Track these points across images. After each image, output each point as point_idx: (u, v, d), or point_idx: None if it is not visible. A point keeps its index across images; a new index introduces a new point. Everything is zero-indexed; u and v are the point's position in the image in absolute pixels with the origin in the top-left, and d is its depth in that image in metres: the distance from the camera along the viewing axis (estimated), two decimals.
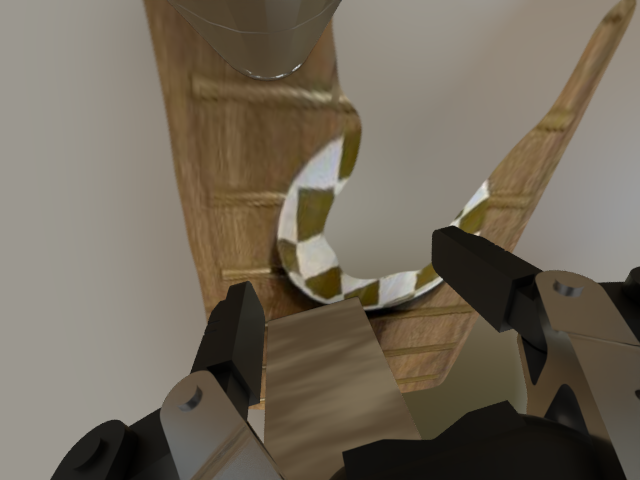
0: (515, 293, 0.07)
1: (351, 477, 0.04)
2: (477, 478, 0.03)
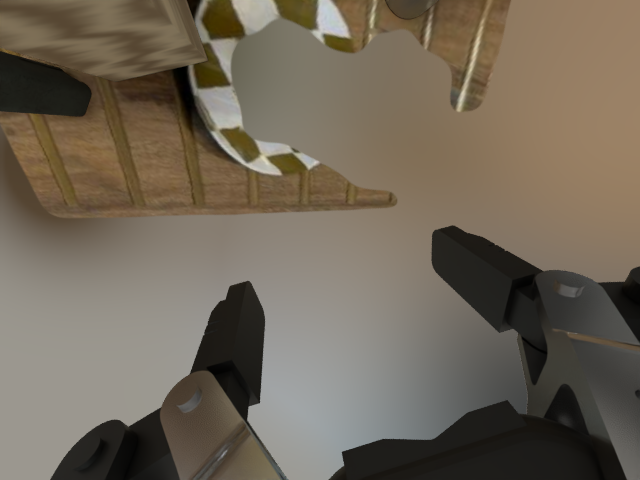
0: (515, 293, 0.07)
1: (351, 477, 0.04)
2: (477, 478, 0.03)
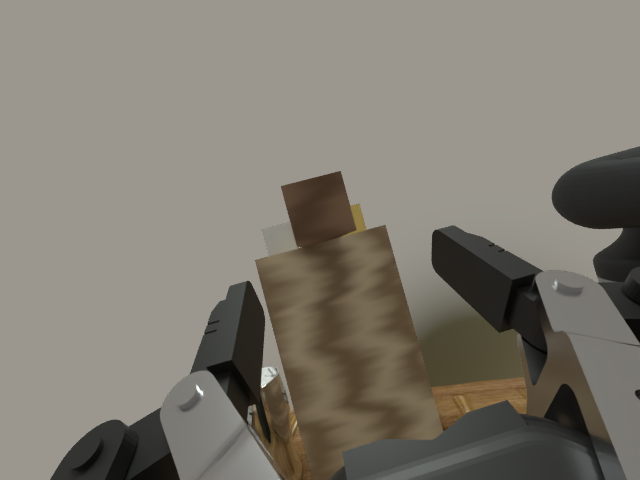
0: (515, 293, 0.07)
1: (351, 477, 0.04)
2: (477, 478, 0.03)
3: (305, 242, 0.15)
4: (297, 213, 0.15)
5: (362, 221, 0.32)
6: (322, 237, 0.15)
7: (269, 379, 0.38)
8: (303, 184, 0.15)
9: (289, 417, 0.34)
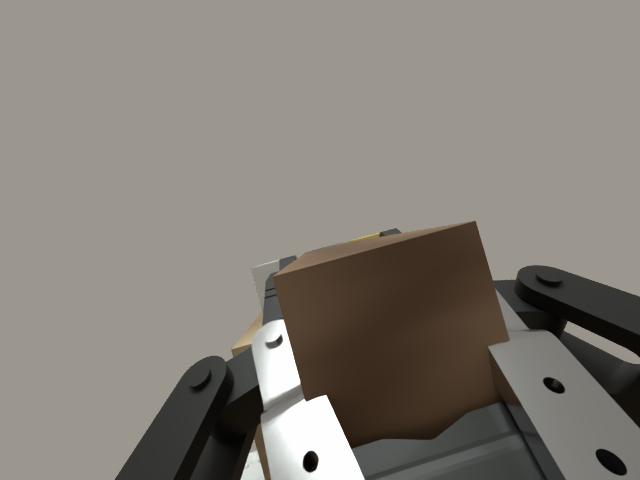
0: None
1: None
2: (477, 478, 0.03)
3: None
4: (329, 372, 0.04)
5: None
6: None
7: None
8: (350, 269, 0.04)
9: None
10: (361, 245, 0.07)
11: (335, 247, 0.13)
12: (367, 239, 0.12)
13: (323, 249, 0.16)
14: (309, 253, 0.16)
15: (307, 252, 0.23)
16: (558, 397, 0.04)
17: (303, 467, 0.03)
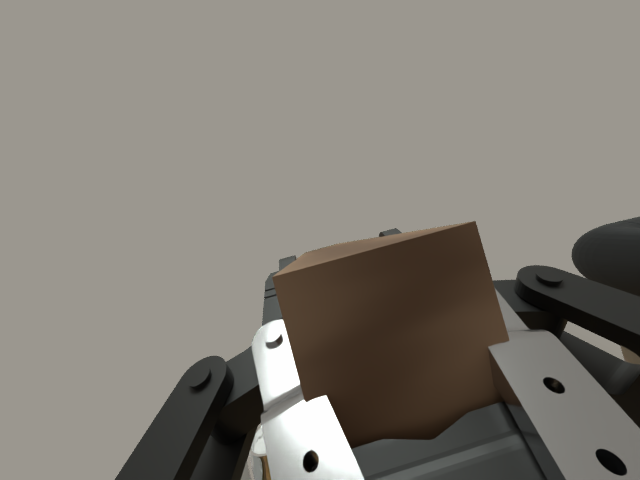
0: None
1: None
2: (477, 478, 0.03)
3: None
4: (329, 372, 0.04)
5: None
6: None
7: None
8: (350, 269, 0.04)
9: None
10: (361, 245, 0.07)
11: (335, 247, 0.13)
12: (367, 239, 0.12)
13: (323, 249, 0.16)
14: (309, 253, 0.16)
15: (307, 252, 0.23)
16: (558, 396, 0.04)
17: (304, 467, 0.03)
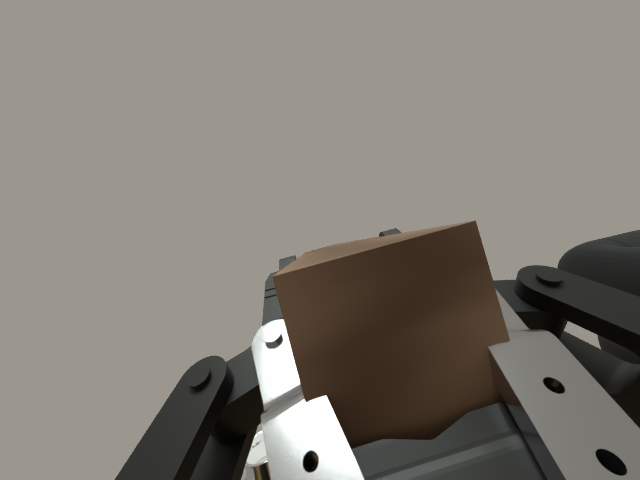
0: None
1: None
2: (477, 478, 0.03)
3: None
4: (329, 372, 0.04)
5: None
6: None
7: None
8: (351, 269, 0.04)
9: None
10: (361, 245, 0.07)
11: (335, 247, 0.13)
12: (367, 239, 0.12)
13: (323, 249, 0.16)
14: (309, 253, 0.16)
15: None
16: (558, 396, 0.04)
17: (303, 468, 0.03)
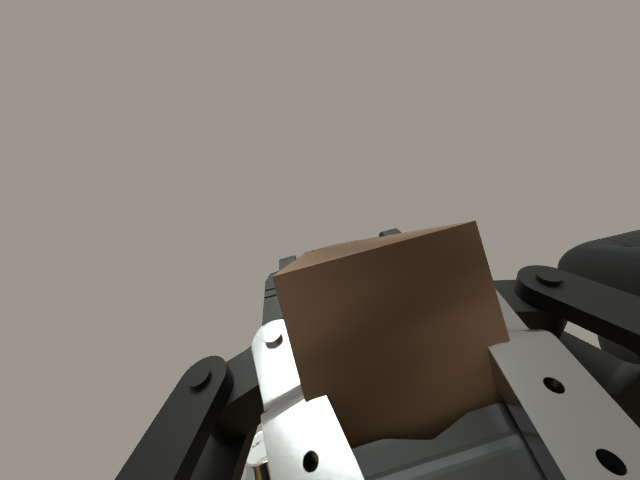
0: None
1: None
2: (477, 478, 0.03)
3: None
4: (329, 372, 0.04)
5: None
6: None
7: None
8: (351, 269, 0.04)
9: None
10: (361, 245, 0.07)
11: (335, 247, 0.13)
12: (367, 239, 0.12)
13: (323, 249, 0.16)
14: (309, 253, 0.16)
15: None
16: (558, 396, 0.04)
17: (303, 468, 0.03)
